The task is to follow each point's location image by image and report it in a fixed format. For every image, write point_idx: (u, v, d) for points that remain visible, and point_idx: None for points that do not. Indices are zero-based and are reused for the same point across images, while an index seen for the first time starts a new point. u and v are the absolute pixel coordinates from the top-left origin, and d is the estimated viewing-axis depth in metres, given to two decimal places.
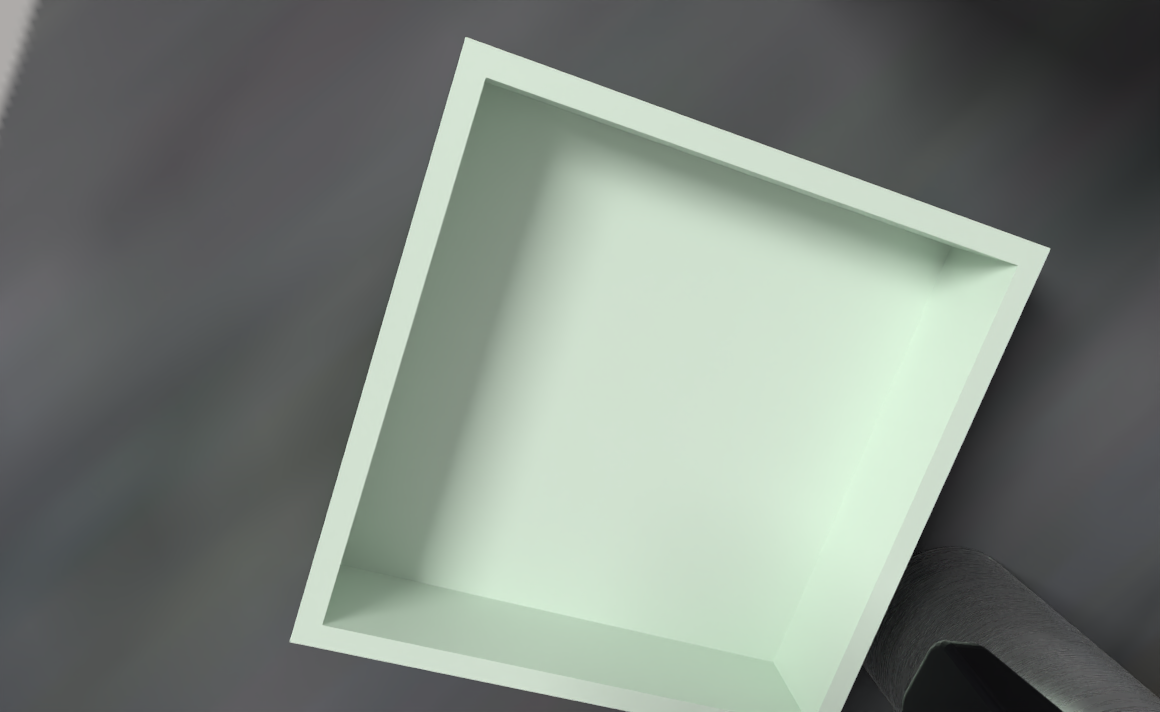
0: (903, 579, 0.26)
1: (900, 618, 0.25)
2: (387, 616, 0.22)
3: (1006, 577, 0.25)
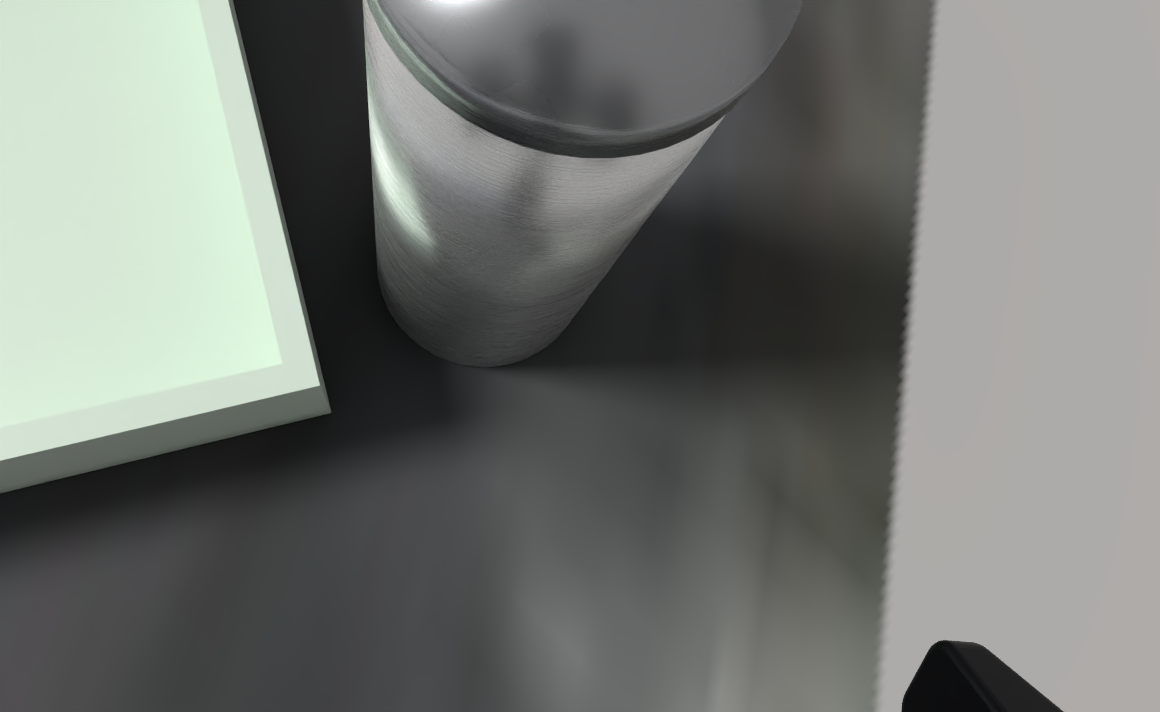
0: None
1: None
2: None
3: None
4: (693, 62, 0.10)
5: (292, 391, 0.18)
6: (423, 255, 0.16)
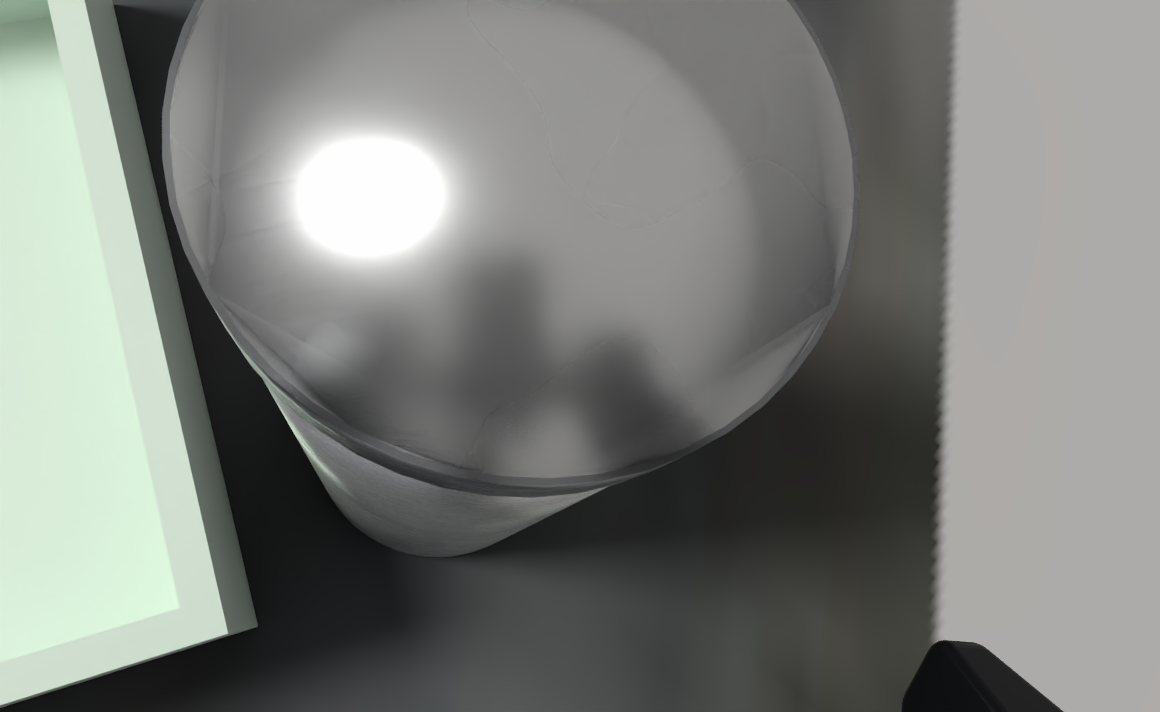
0: None
1: None
2: None
3: None
4: (697, 364, 0.07)
5: (192, 643, 0.14)
6: (346, 496, 0.12)
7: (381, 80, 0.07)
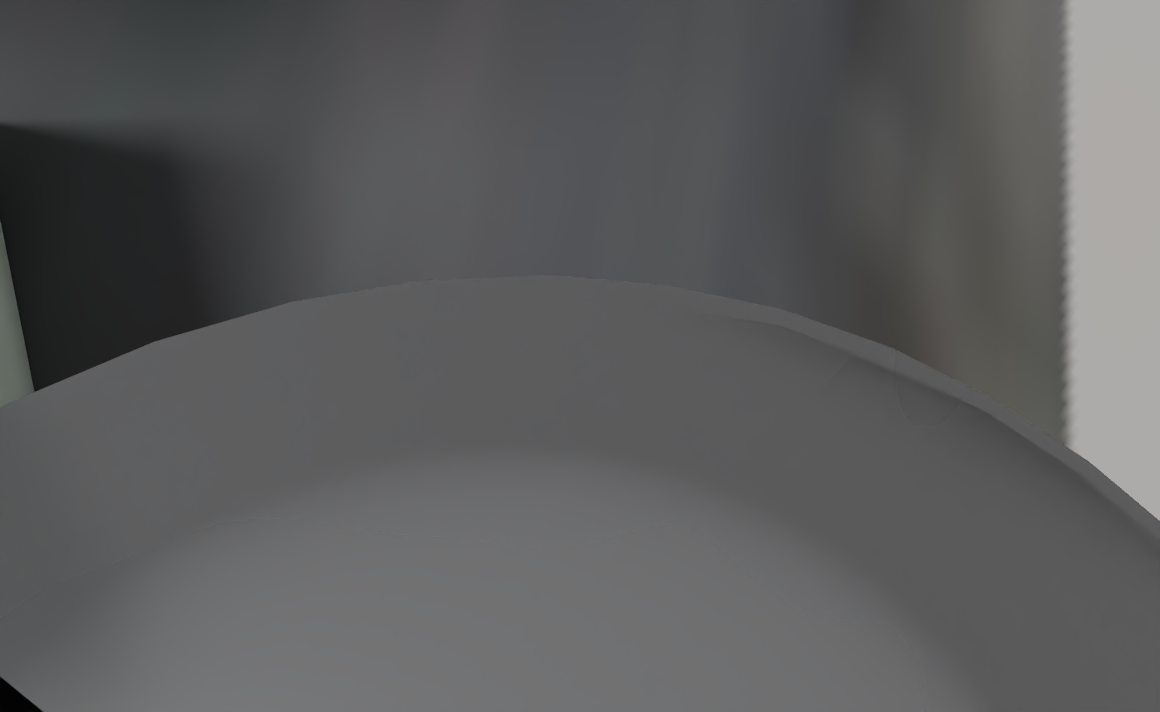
0: None
1: None
2: None
3: None
4: None
5: None
6: None
7: None
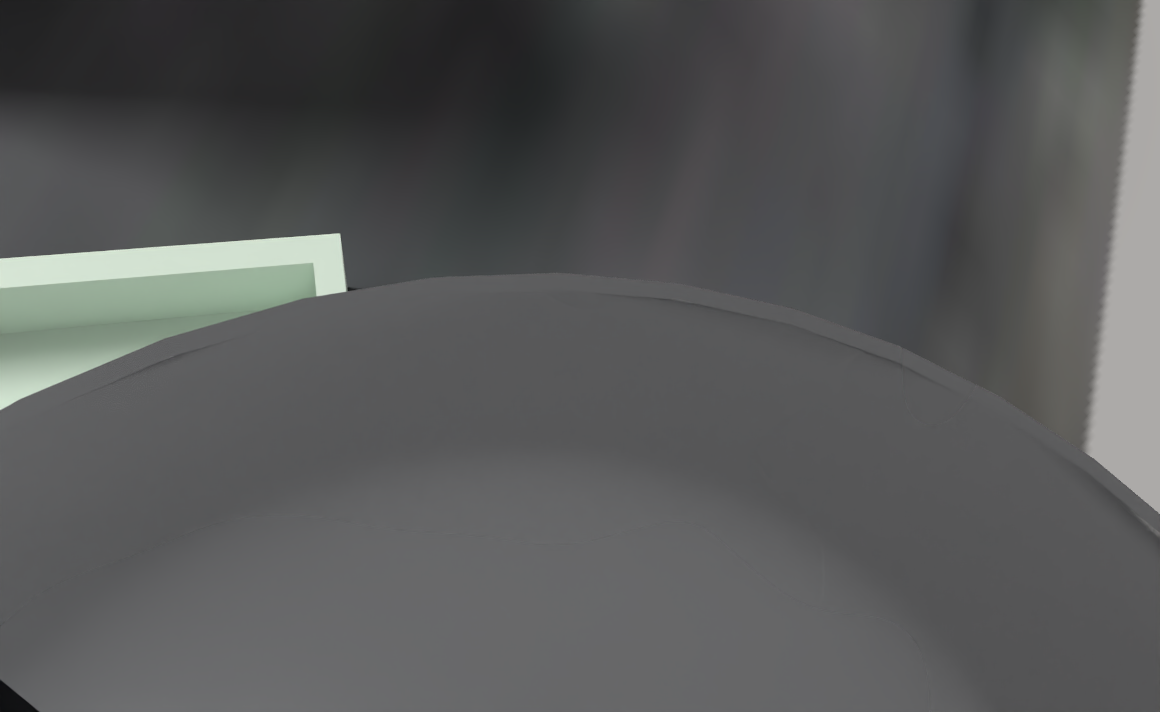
0: None
1: None
2: None
3: None
4: None
5: None
6: None
7: None
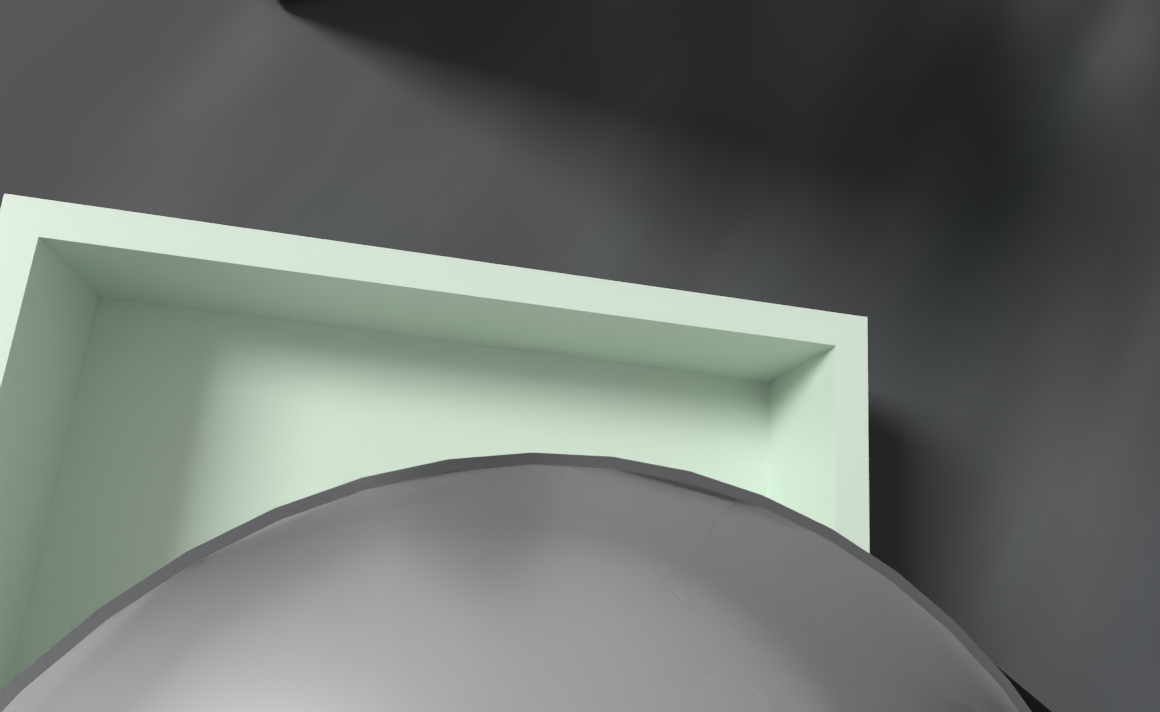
0: None
1: None
2: None
3: None
4: None
5: None
6: None
7: None
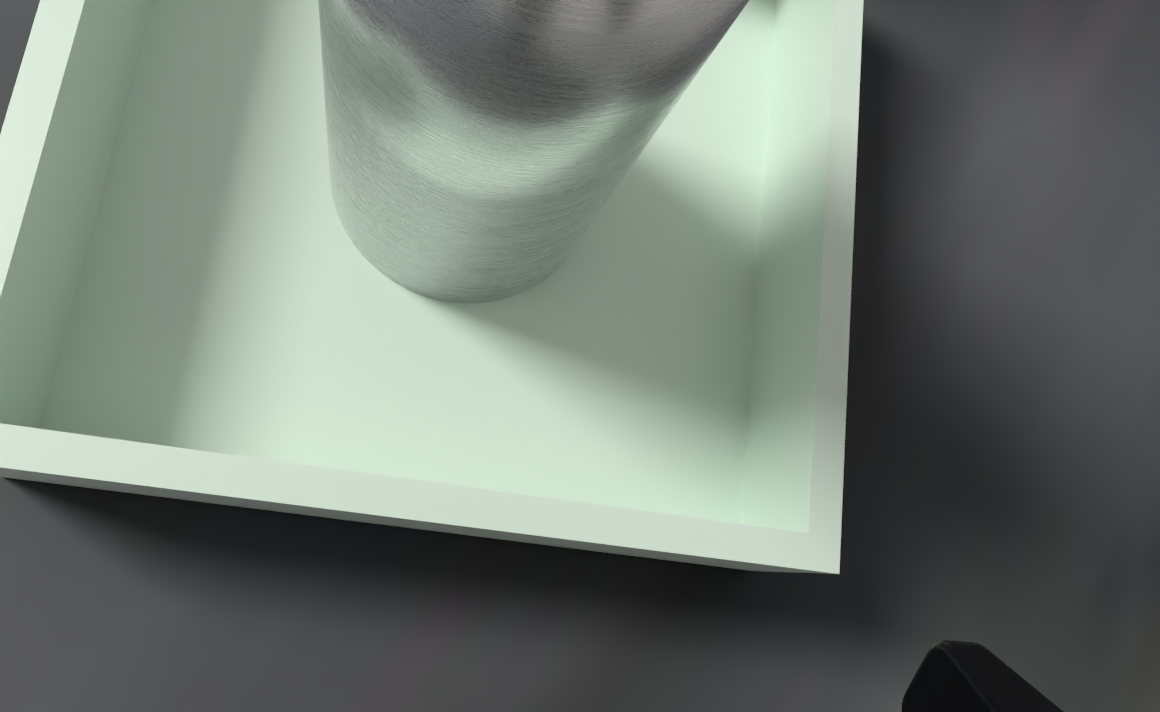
0: None
1: None
2: None
3: None
4: None
5: (809, 569, 0.15)
6: (388, 105, 0.11)
7: None
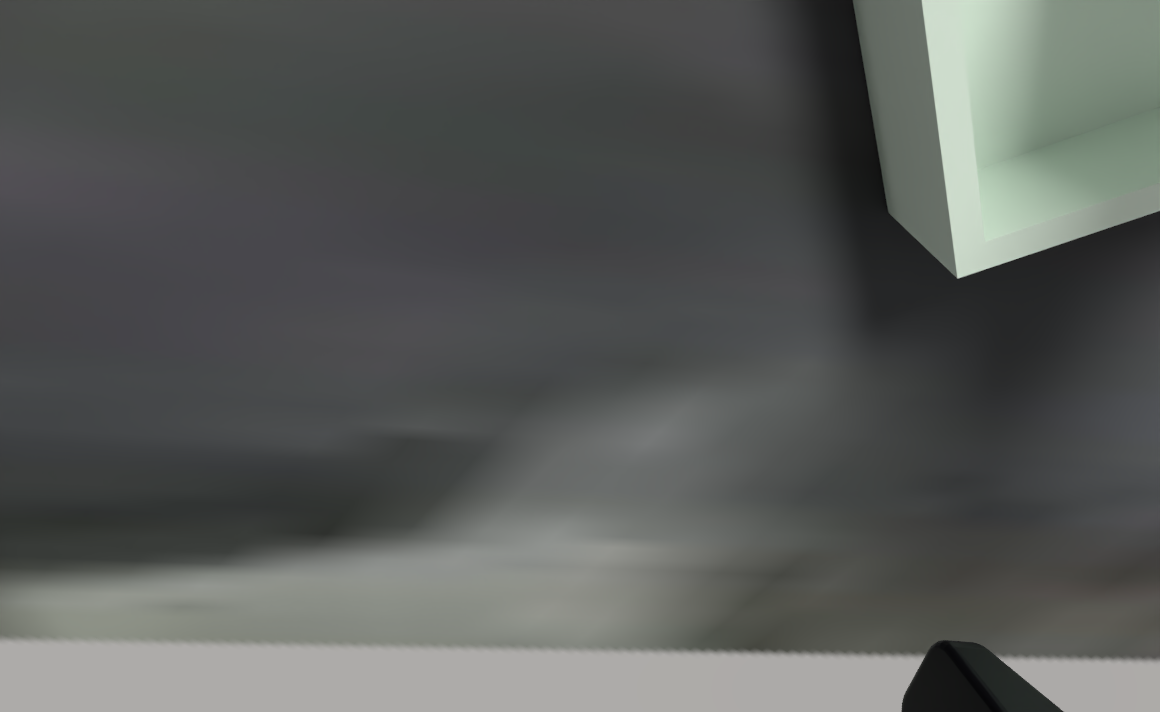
0: None
1: None
2: None
3: None
4: None
5: (954, 254, 0.17)
6: None
7: None
